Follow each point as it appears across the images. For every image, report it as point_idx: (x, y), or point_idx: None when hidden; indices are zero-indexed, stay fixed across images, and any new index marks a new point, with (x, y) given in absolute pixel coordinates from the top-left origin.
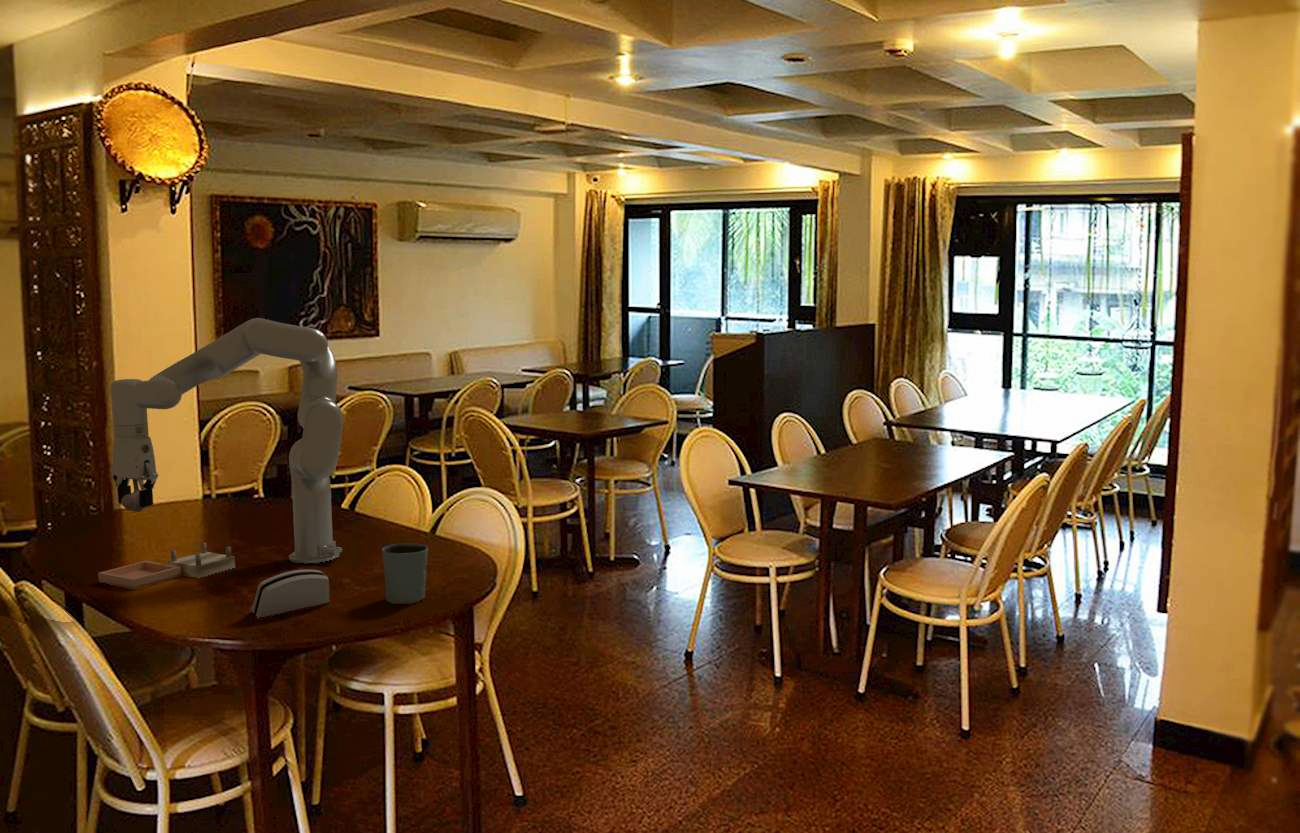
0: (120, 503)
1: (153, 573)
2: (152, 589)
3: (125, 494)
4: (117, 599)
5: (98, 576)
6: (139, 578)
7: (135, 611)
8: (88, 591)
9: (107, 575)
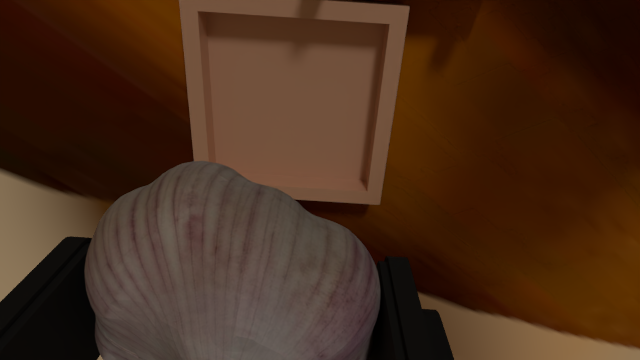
0: None
1: (380, 125)
2: (421, 160)
3: (67, 347)
4: None
5: None
6: (382, 185)
7: (525, 302)
8: None
9: None
